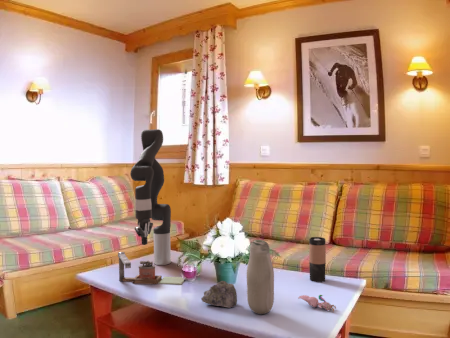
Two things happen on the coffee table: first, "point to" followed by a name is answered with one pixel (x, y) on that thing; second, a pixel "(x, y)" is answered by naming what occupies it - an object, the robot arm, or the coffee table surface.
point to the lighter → (146, 270)
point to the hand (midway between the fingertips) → (144, 244)
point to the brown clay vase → (260, 278)
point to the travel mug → (317, 259)
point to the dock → (136, 279)
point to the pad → (172, 280)
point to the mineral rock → (221, 295)
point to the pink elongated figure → (314, 302)
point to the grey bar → (124, 259)
